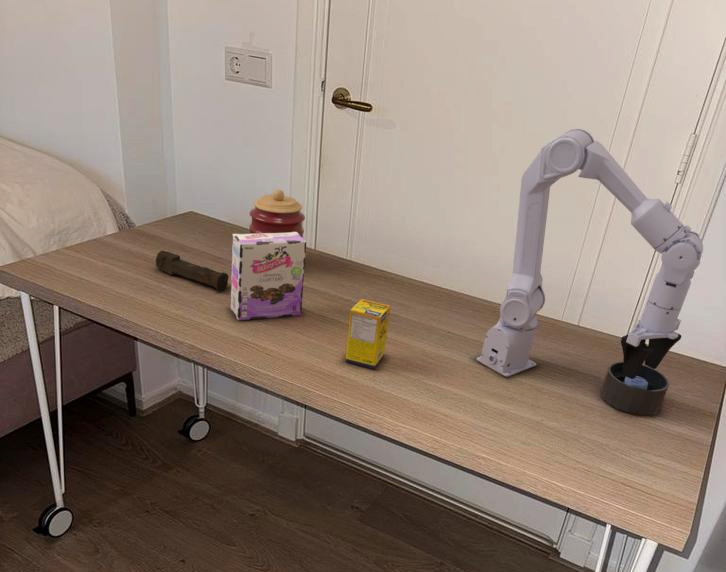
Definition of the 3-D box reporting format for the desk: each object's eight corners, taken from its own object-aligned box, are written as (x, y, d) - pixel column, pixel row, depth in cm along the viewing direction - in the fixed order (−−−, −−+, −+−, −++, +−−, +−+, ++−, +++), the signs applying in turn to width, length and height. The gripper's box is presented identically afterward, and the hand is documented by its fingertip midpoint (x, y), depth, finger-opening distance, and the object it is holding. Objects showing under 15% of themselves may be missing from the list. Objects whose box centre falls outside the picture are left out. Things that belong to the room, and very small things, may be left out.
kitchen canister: (299, 275, 168) (304, 200, 159) (244, 269, 168) (246, 194, 159) (303, 256, 180) (308, 185, 170) (252, 250, 179) (254, 179, 170)
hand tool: (229, 288, 158) (230, 268, 155) (217, 293, 154) (218, 273, 152) (165, 265, 165) (164, 246, 162) (152, 270, 162) (151, 250, 159)
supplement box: (384, 357, 138) (391, 305, 132) (374, 370, 133) (381, 316, 127) (355, 349, 139) (361, 297, 133) (344, 362, 134) (350, 309, 129)
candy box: (237, 321, 144) (239, 243, 135) (229, 309, 148) (231, 232, 140) (302, 316, 150) (307, 240, 141) (292, 304, 154) (297, 230, 145)
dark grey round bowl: (639, 423, 127) (649, 397, 124) (588, 395, 134) (596, 370, 131) (670, 406, 134) (680, 381, 131) (619, 381, 140) (628, 356, 137)
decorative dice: (618, 400, 132) (625, 382, 130) (620, 391, 136) (626, 372, 133) (640, 406, 131) (647, 388, 129) (641, 397, 135) (648, 378, 132)
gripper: (664, 320, 116) (637, 391, 124) (705, 304, 125) (679, 371, 132) (626, 304, 121) (603, 373, 128) (669, 289, 129) (645, 355, 137)
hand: (639, 371), depth 130 cm, fingers open, 7 cm apart
